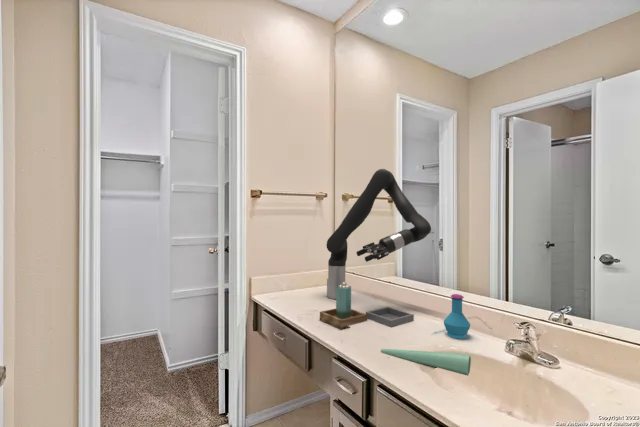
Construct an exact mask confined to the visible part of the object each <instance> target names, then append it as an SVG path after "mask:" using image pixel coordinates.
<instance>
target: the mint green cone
mask: <svg viewBox="0 0 640 427" xmlns="http://www.w3.org/2000/svg"><path fill="white" fill-rule="evenodd" d="M380 352H381V353H382V354H387V355H389V356H393V357H397V358H400V359H404V360H407V361H411V362H415V363H419V364H421V365H427V366H430V367H434V368H437V369H441V370H445V371H449V372H451V373H452V372H453V373H457V374H460V375H463V376H469V375H470V372H471V363H472V357H471V354H466V353H465V354H464V353H455V352H441V351H428V350H427V351H423V350H410V349H393V348H381V349H380Z"/></svg>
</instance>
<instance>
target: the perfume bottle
mask: <svg viewBox="0 0 640 427" xmlns="http://www.w3.org/2000/svg"><path fill="white" fill-rule="evenodd" d="M450 298H451V311H450V313H449V314H448V315H447V316H446V317H445V319H444V320H443V325H444V328H445V330H446V334H447V336H449V337H451V338H455V339H466V338H467V334H468V333H469V332H468V331H470V327H471V323H470V322H469V320H468V318H467V317H466V316H465V314H464V313H463V299H464V298H465V297H464V296H463V295H462V294H459V293H458V294H457V293H453V294H451V295H450Z"/></svg>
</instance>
